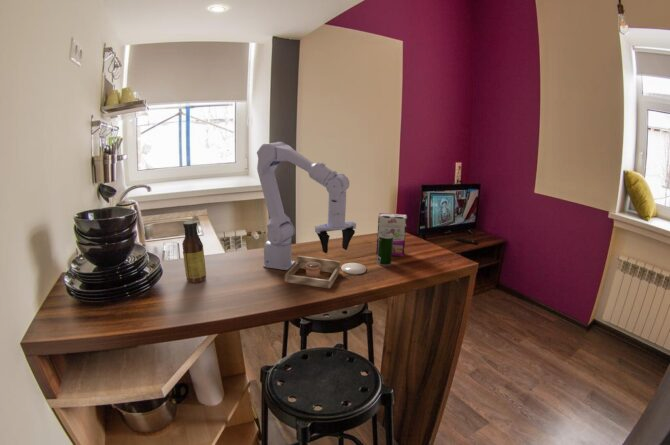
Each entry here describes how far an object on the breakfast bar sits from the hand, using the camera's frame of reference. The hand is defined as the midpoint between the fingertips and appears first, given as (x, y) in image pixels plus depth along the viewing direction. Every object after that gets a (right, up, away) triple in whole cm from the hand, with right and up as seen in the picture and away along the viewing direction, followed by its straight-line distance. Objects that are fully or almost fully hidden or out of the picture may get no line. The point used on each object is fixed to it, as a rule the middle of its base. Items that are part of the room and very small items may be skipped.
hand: (335, 250), depth 125 cm
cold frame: (-8, -9, +2) cm, 12 cm away
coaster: (+7, -7, +9) cm, 13 cm away
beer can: (+19, -6, +15) cm, 25 cm away
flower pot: (-8, -9, +2) cm, 12 cm away
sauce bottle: (-46, -10, -3) cm, 47 cm away
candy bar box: (+22, -3, +25) cm, 34 cm away
